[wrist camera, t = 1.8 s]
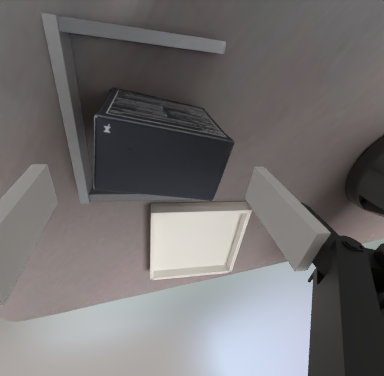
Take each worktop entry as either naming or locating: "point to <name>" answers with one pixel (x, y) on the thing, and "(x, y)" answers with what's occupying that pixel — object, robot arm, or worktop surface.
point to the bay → (69, 93)
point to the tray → (195, 238)
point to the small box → (157, 147)
